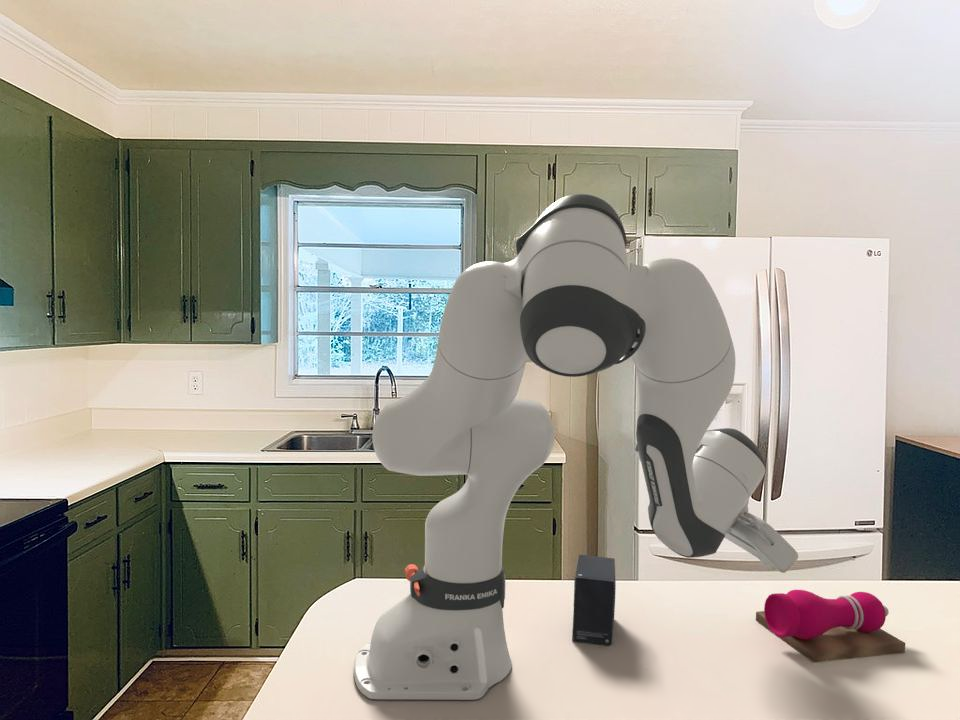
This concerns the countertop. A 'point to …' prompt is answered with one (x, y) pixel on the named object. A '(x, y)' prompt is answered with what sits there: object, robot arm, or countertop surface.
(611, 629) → the small box
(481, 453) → the robot arm
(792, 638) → the walnut board
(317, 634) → the countertop surface
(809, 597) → the pepper mill
